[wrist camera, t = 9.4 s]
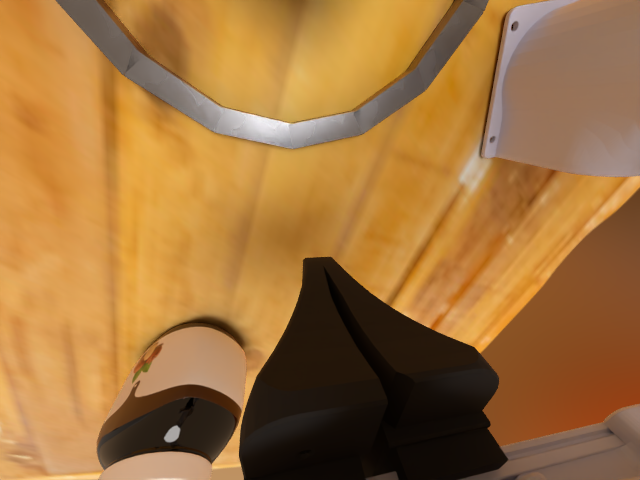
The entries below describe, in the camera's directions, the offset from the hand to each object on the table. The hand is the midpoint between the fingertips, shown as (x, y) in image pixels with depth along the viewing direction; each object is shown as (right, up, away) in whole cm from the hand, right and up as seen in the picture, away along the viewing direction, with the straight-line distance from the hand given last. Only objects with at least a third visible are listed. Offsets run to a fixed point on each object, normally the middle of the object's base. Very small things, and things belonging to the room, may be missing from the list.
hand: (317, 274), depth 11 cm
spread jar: (-13, -11, +15) cm, 23 cm away
